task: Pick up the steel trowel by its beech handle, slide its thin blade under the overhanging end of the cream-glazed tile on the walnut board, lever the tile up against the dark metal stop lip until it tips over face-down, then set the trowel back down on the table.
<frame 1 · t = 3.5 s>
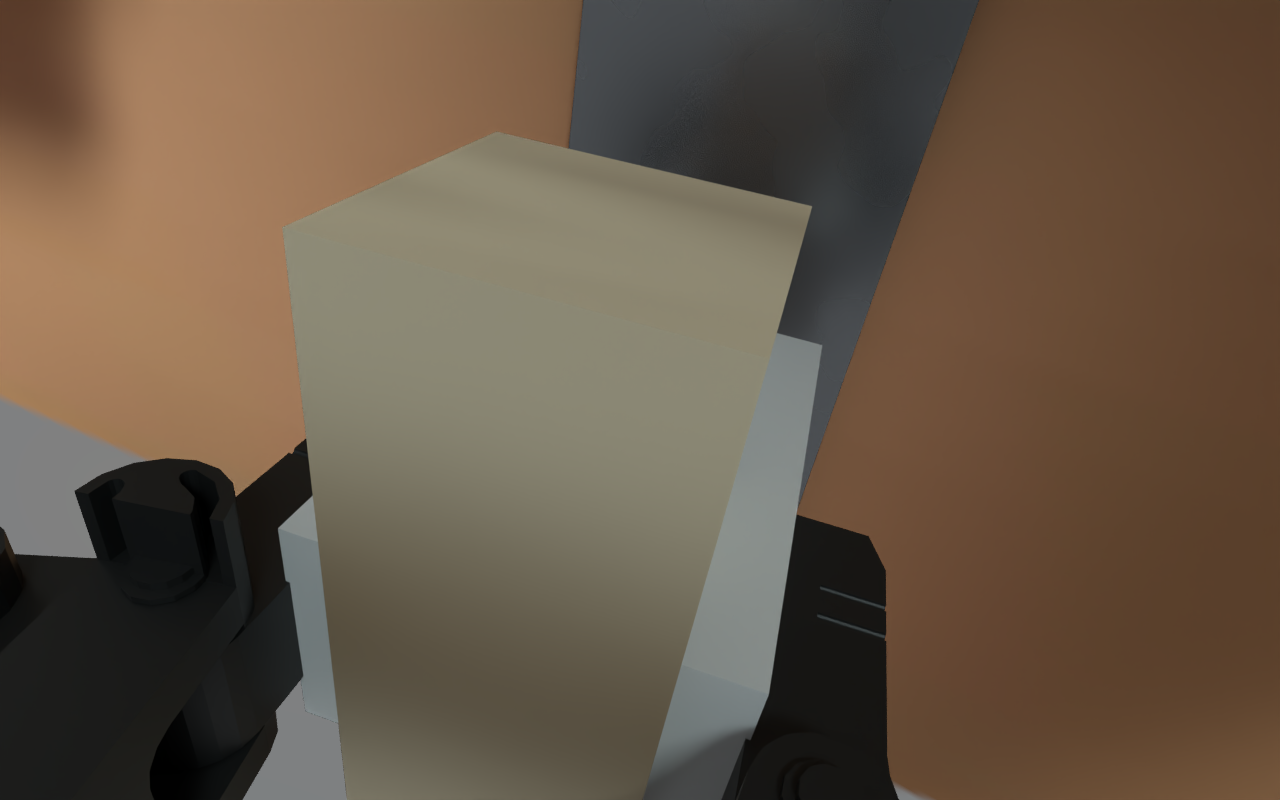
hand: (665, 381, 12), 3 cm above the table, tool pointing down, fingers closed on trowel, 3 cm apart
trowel: (674, 437, 17), on the table, touching gripper
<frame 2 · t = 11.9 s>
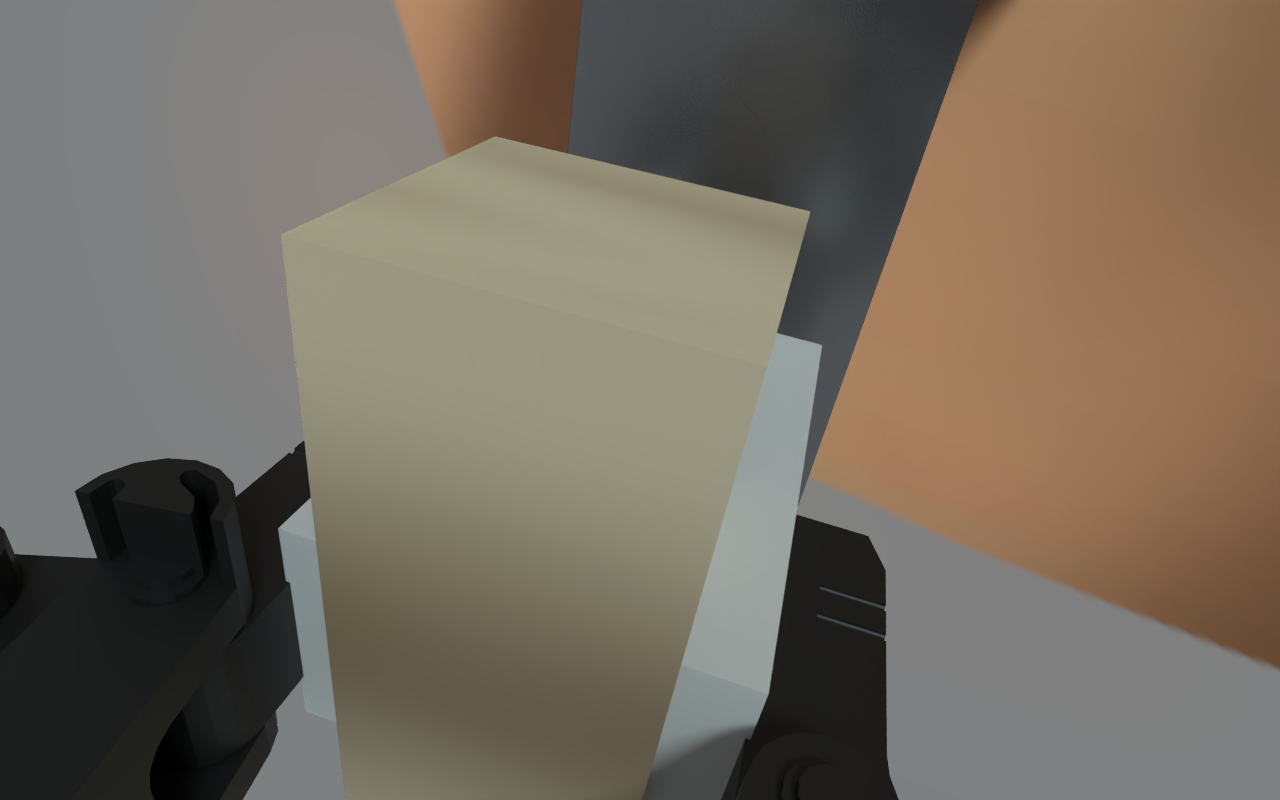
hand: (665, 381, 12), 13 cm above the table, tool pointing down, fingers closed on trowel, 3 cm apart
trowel: (673, 438, 17), point 10 cm above the table, touching gripper, tile
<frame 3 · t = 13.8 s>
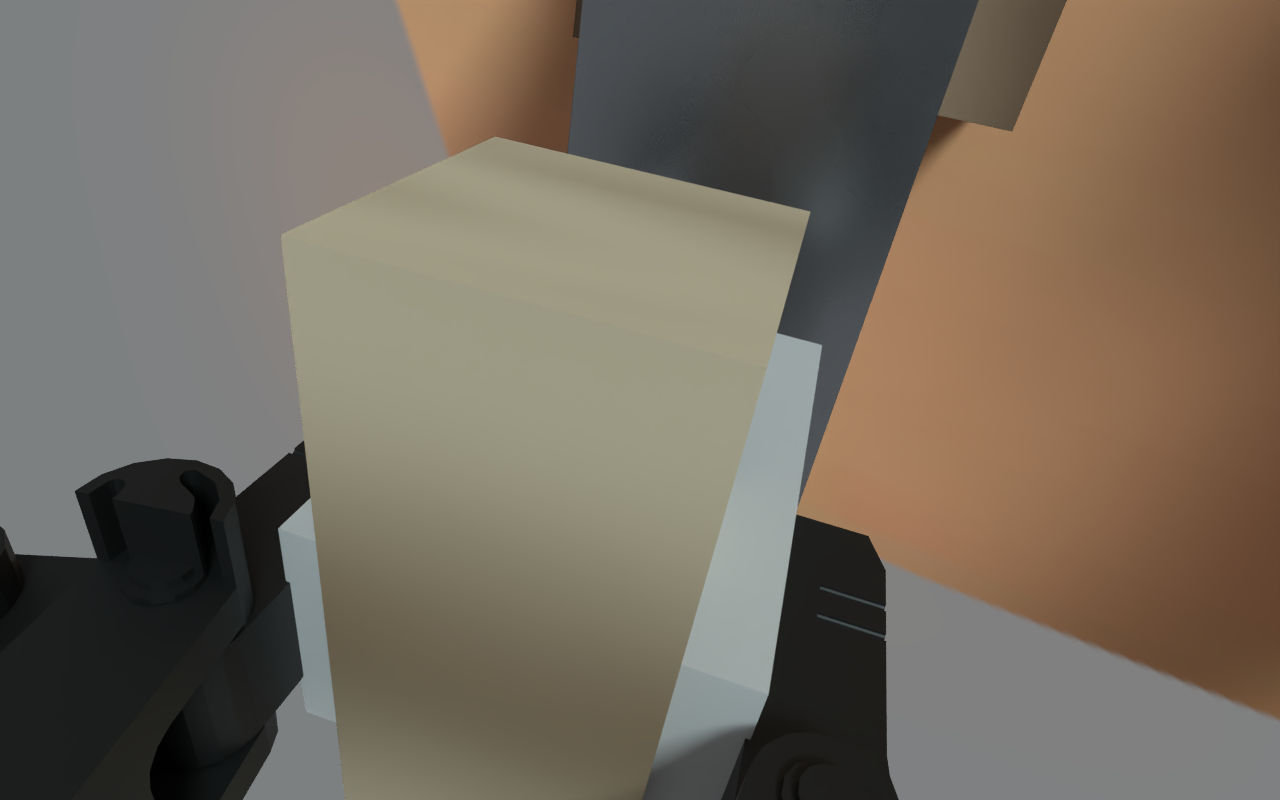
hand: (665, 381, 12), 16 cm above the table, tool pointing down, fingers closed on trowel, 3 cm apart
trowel: (673, 439, 17), point 13 cm above the table, touching gripper
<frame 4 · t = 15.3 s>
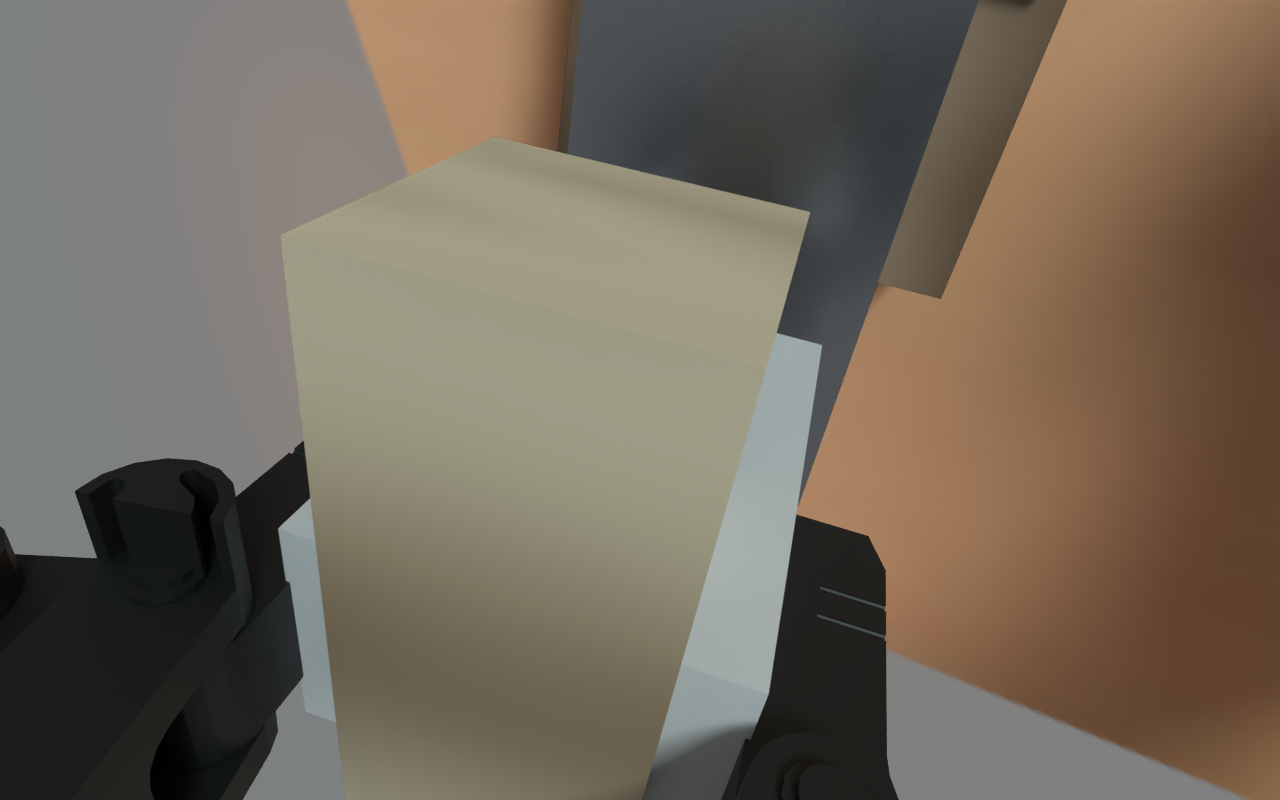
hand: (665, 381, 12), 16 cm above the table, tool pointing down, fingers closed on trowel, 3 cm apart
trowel: (673, 439, 17), point 13 cm above the table, touching gripper
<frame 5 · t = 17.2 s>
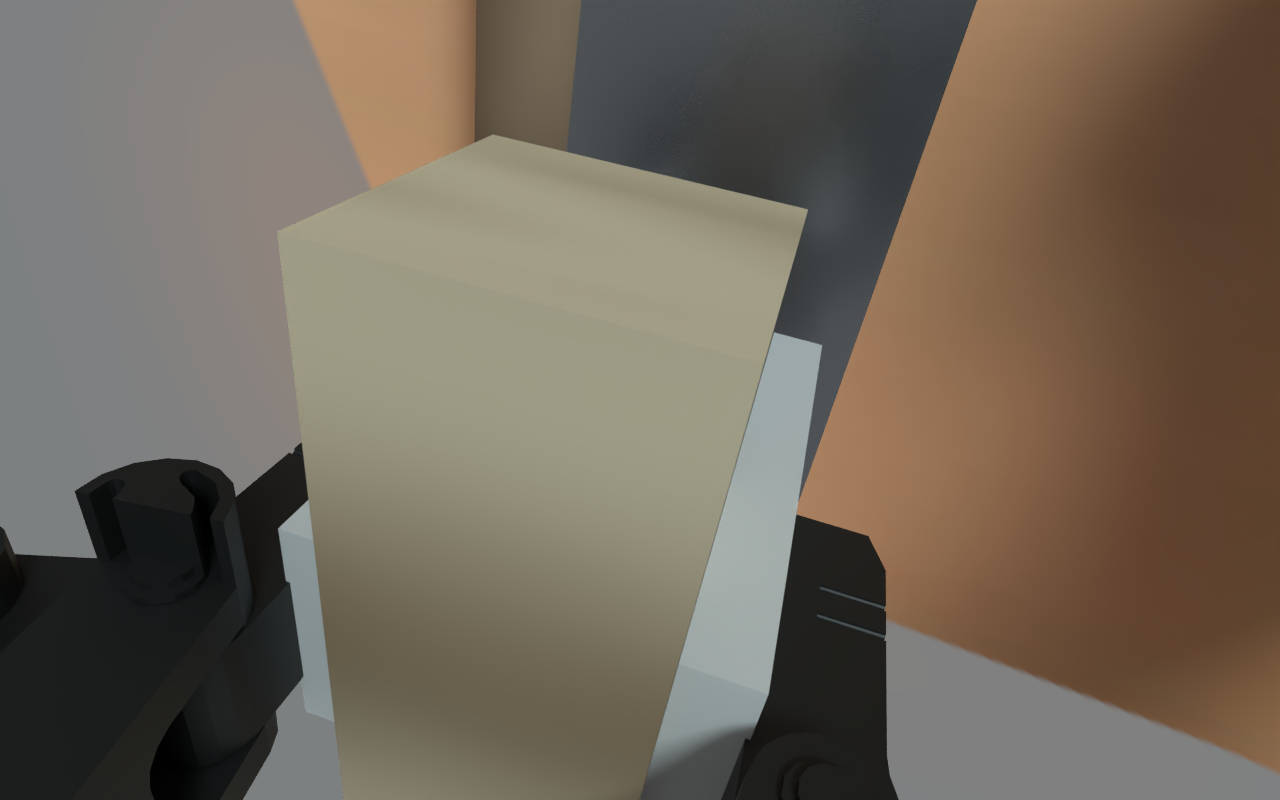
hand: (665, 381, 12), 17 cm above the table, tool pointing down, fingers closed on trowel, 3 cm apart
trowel: (672, 438, 17), point 14 cm above the table, touching gripper
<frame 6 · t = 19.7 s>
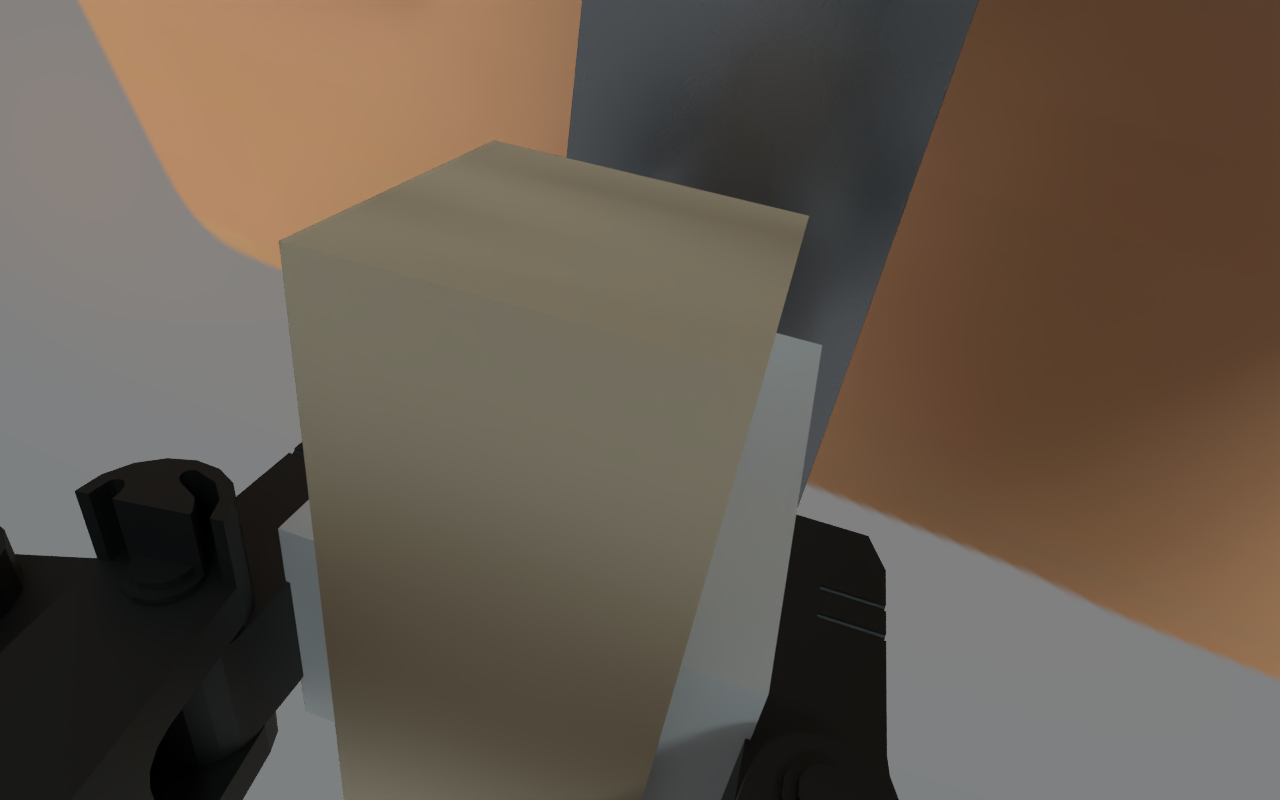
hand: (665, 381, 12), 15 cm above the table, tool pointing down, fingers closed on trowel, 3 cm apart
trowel: (673, 440, 17), point 12 cm above the table, touching gripper
when the fingers open (4 cm above the table, at t = 21.6 s): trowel drops 2 cm, on the table.
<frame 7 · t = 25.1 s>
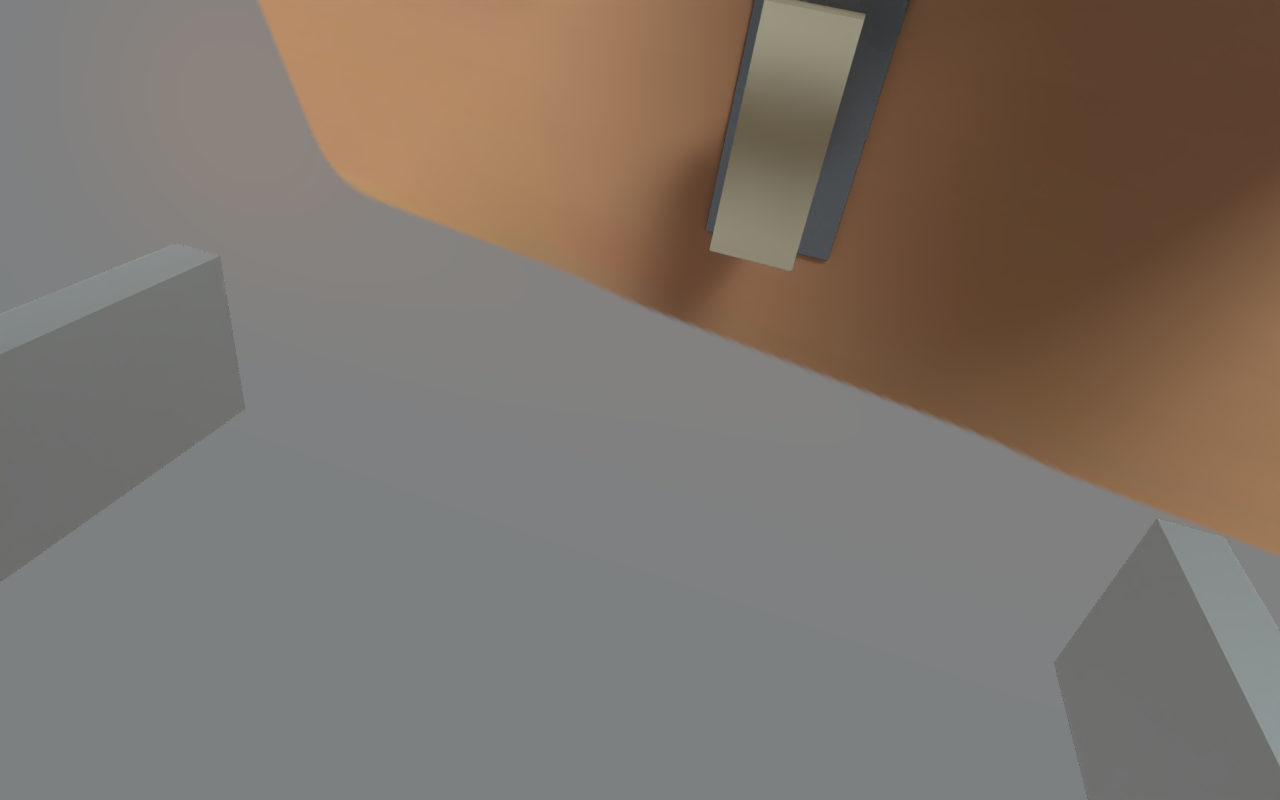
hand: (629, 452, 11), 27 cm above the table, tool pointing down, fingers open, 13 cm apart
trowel: (782, 181, 34), on the table
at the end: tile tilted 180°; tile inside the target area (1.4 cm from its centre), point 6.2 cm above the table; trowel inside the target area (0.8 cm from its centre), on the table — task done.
